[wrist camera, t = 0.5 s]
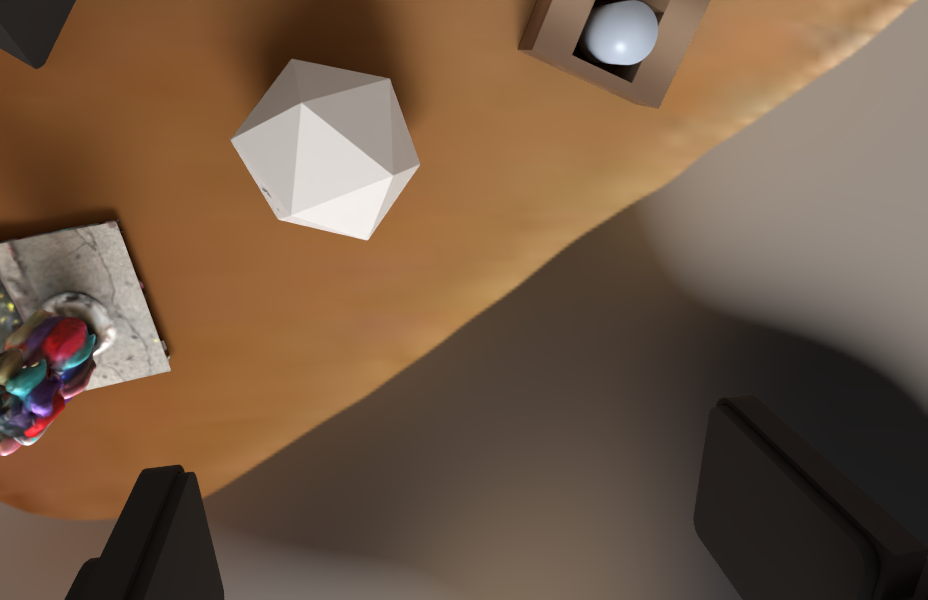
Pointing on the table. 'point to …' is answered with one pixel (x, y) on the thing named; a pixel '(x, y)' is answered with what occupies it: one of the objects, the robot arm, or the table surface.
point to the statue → (68, 325)
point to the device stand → (32, 27)
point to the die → (328, 148)
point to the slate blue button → (619, 33)
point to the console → (641, 83)
